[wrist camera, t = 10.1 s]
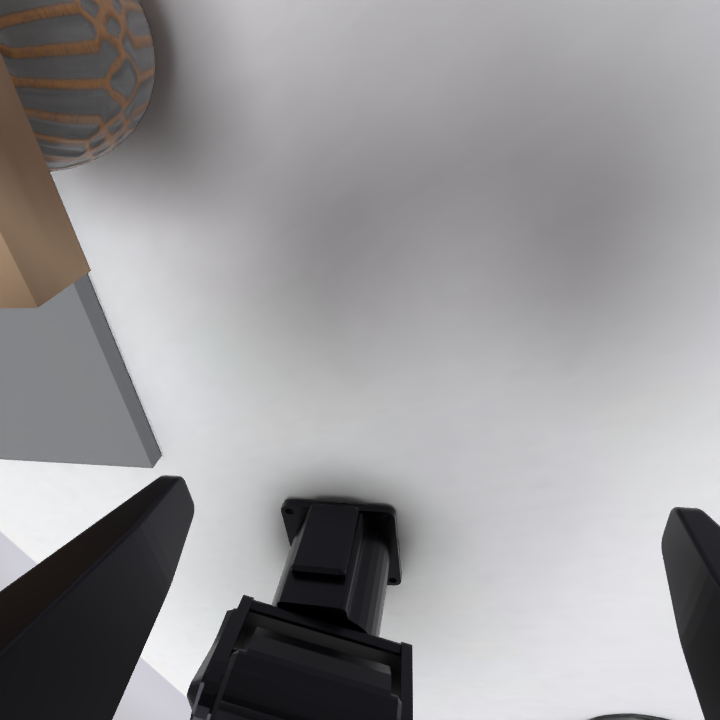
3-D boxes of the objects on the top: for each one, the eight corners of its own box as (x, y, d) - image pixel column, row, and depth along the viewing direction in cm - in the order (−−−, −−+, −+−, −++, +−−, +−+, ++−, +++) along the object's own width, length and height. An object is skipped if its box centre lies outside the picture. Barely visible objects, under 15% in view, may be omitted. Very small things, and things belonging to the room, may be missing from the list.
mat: (161, 455, 30) (152, 468, 29) (-15, 446, 33) (-28, 457, 32) (42, 165, 22) (25, 171, 21) (-186, 181, 24) (-209, 187, 23)
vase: (68, 163, 21) (-136, 243, 14) (-43, -43, 18) (-384, -73, 11) (217, 116, 19) (67, 183, 12) (124, -125, 16) (-161, -230, 9)
